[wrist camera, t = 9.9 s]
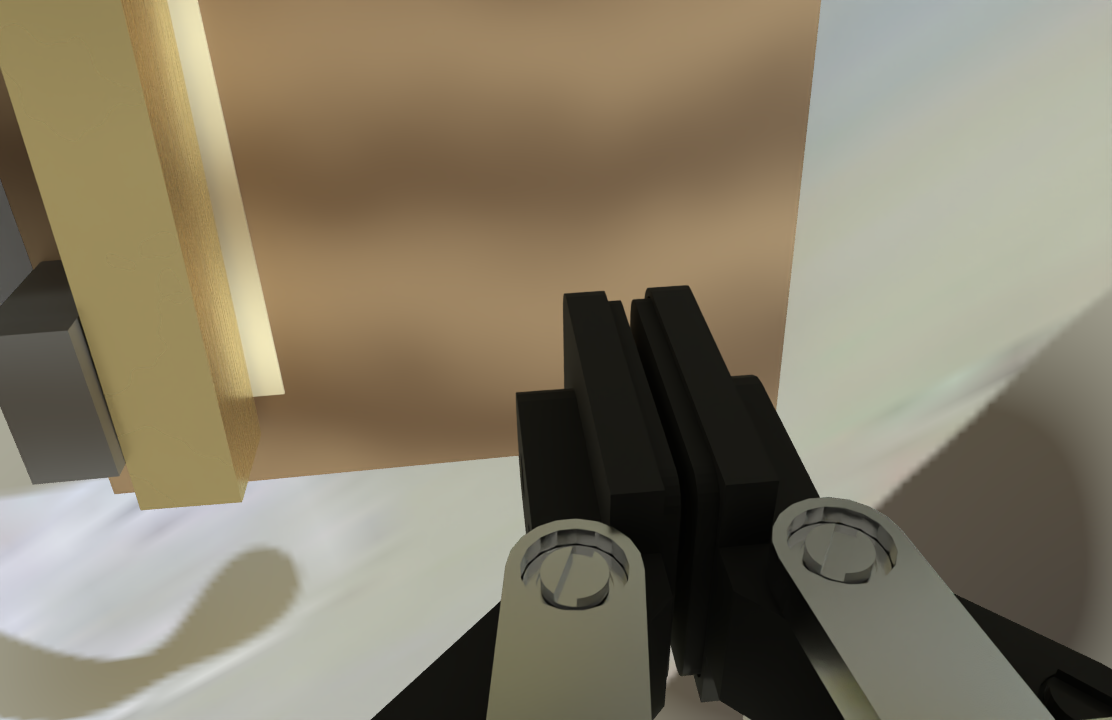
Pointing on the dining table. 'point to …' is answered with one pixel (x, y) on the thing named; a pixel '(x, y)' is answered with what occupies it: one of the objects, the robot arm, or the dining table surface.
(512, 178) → the lock board
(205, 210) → the bar
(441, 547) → the dining table surface
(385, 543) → the dining table surface
